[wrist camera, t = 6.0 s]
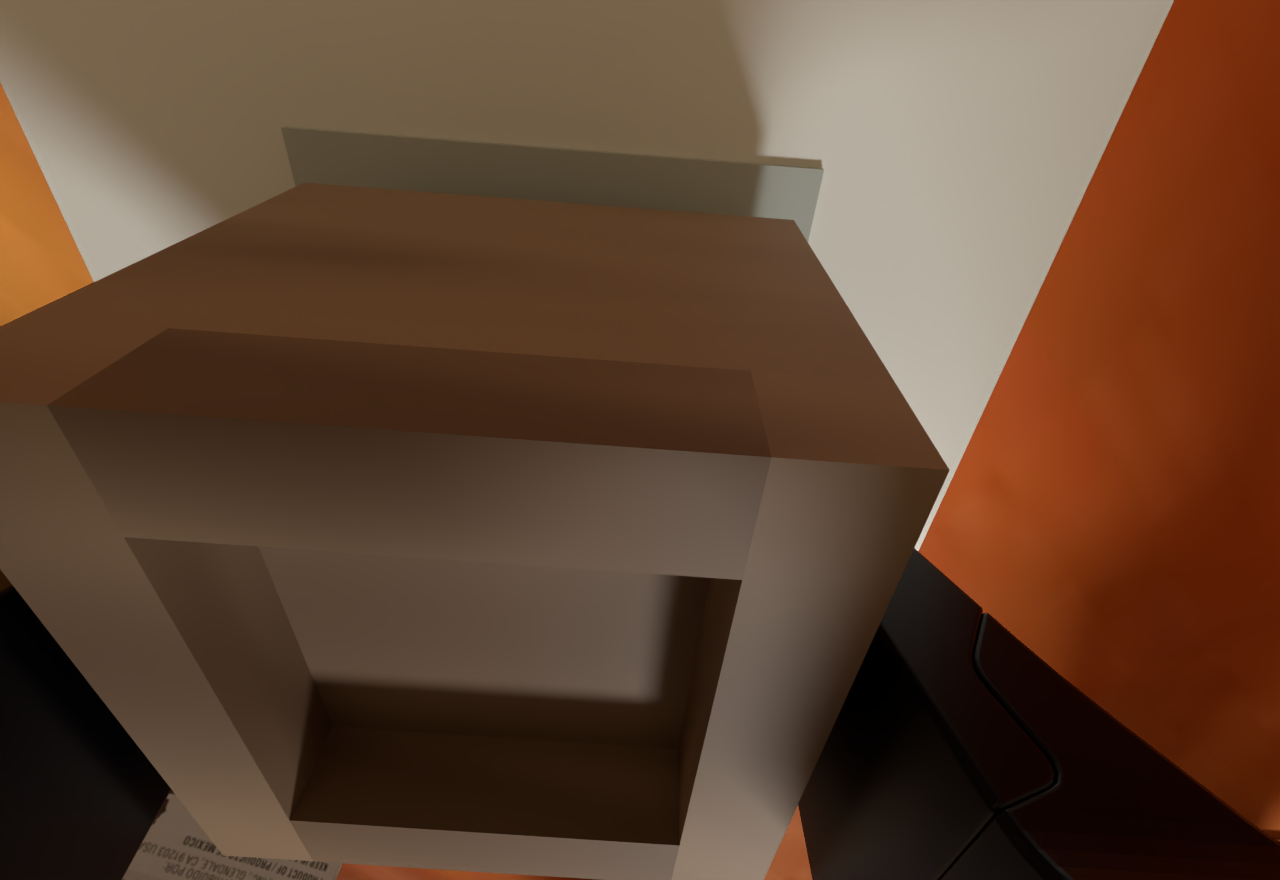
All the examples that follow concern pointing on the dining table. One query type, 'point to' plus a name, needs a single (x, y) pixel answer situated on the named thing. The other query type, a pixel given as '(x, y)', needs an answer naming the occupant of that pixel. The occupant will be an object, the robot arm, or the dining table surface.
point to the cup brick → (466, 525)
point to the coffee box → (208, 855)
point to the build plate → (617, 132)
